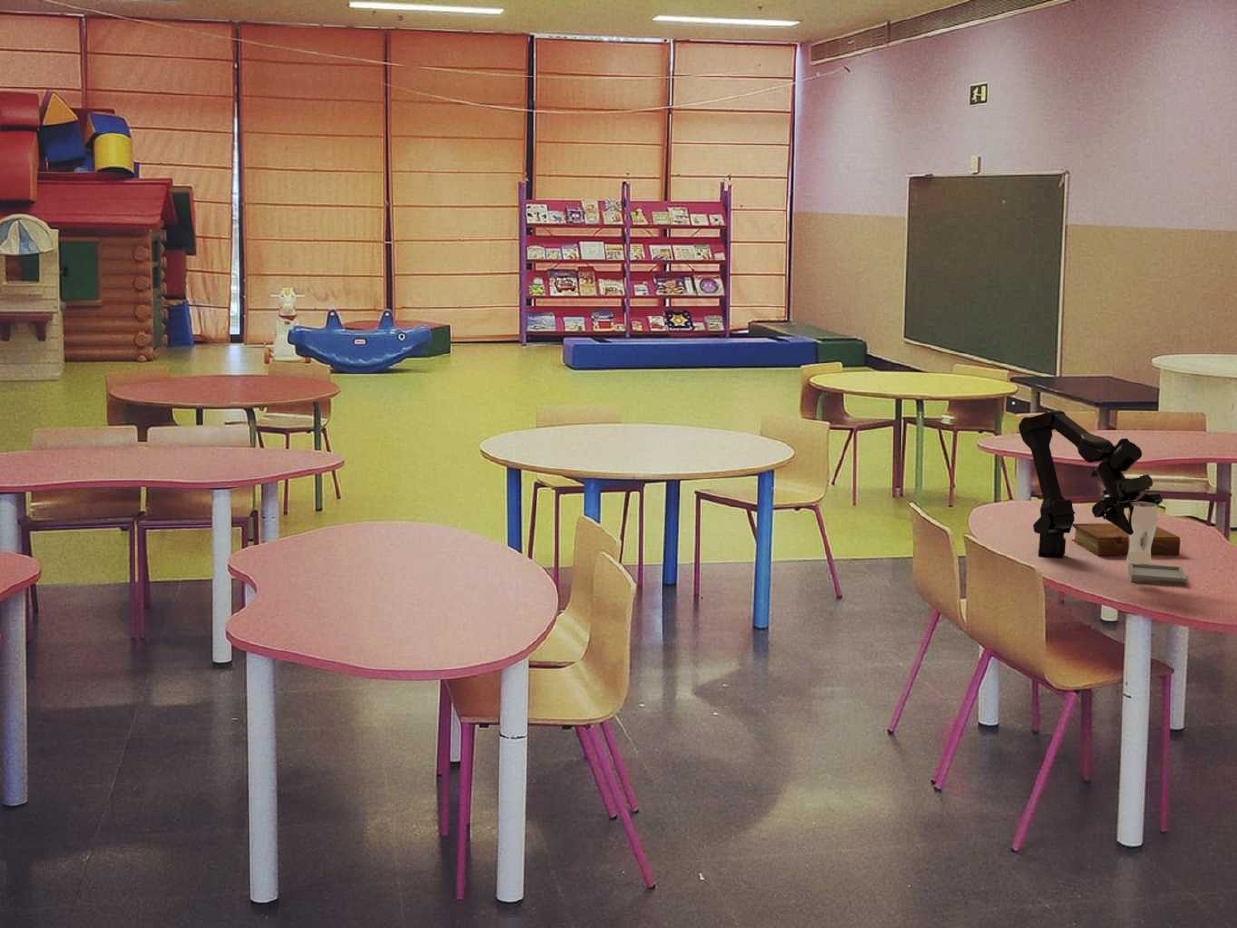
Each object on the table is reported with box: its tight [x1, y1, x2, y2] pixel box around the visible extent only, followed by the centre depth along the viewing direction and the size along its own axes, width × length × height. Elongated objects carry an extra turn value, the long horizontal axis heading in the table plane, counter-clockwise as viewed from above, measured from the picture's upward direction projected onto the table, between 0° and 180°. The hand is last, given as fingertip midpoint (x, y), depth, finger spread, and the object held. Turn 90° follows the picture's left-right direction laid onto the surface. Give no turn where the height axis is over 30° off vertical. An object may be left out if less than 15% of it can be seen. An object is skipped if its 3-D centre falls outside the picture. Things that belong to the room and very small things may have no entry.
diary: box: [1071, 522, 1181, 557], centre depth 390 cm, size 23×19×6 cm
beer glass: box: [1125, 501, 1158, 565], centre depth 350 cm, size 7×7×15 cm
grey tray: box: [1127, 563, 1187, 587], centre depth 357 cm, size 13×13×2 cm
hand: (1142, 532), depth 350 cm, fingers closed on beer glass, 7 cm apart
